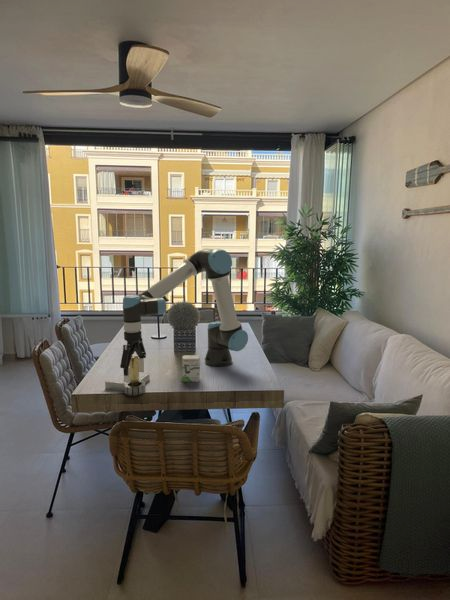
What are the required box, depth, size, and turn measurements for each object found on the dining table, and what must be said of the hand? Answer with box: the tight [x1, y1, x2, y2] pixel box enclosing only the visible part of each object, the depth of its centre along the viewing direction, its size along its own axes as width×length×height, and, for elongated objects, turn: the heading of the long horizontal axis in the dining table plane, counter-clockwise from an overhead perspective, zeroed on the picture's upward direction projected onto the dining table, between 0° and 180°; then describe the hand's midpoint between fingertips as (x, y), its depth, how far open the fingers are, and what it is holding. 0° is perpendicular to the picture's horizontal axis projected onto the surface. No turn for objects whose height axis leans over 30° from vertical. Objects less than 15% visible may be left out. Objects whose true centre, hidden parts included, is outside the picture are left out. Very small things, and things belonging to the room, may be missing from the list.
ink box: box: [181, 354, 201, 383], centre depth 190 cm, size 9×5×12 cm, turn 94°
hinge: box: [104, 373, 151, 396], centre depth 182 cm, size 19×19×4 cm
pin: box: [129, 355, 140, 387], centre depth 175 cm, size 4×4×16 cm
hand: (134, 376), depth 176 cm, fingers open, 13 cm apart
